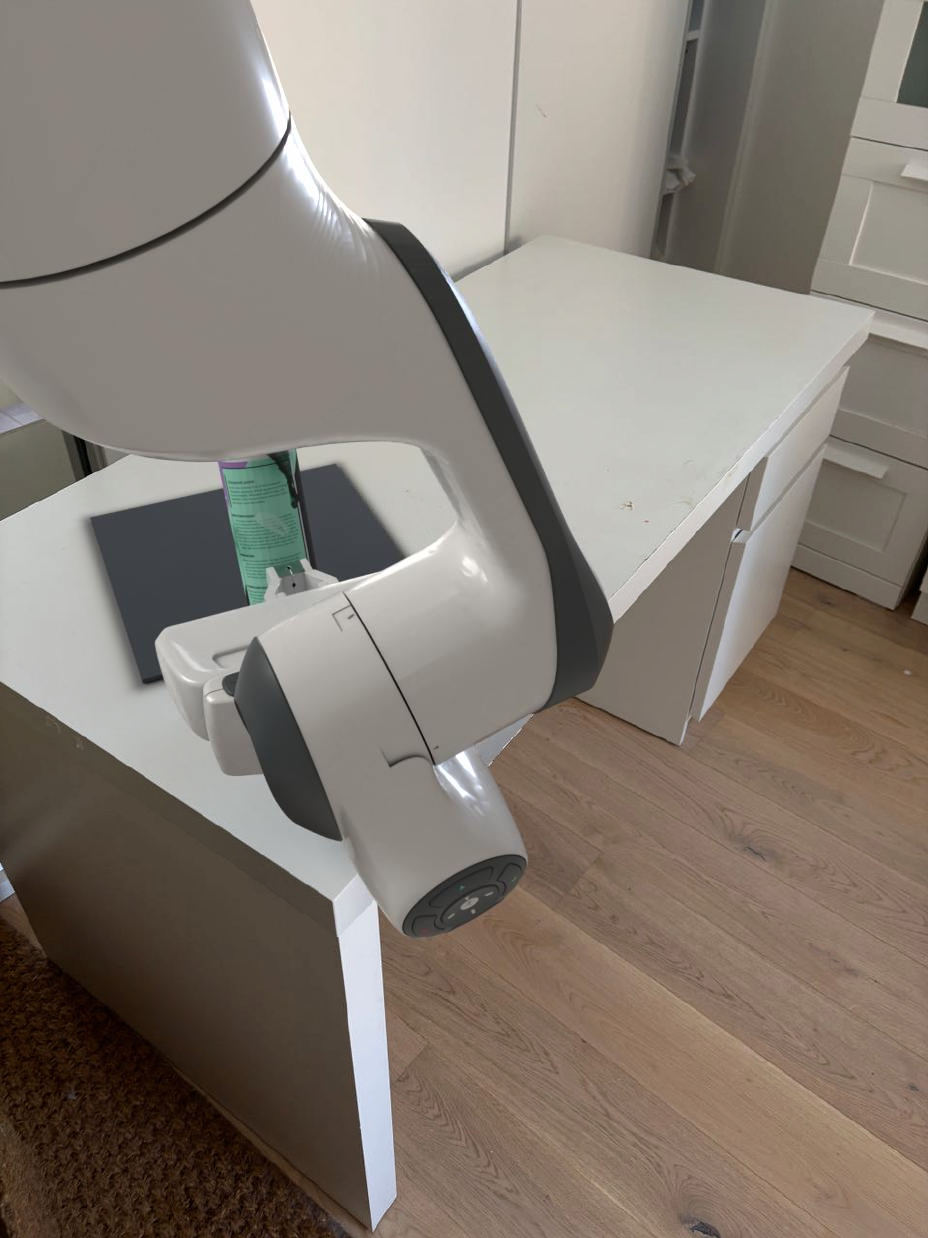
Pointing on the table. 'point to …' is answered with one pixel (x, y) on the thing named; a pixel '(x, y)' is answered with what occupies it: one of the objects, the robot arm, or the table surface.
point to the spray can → (266, 516)
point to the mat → (220, 556)
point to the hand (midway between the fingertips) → (286, 570)
